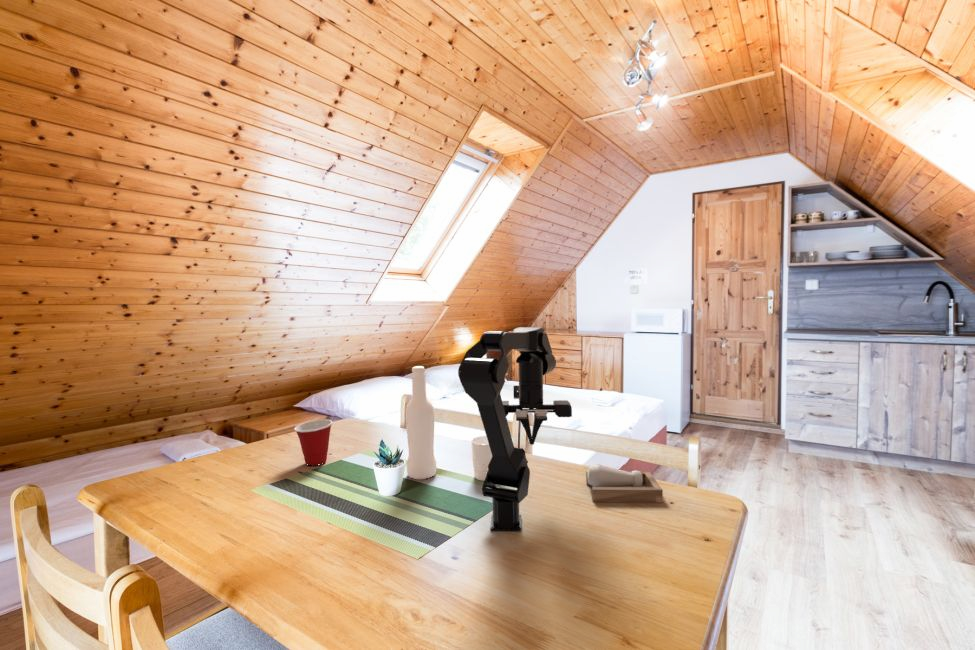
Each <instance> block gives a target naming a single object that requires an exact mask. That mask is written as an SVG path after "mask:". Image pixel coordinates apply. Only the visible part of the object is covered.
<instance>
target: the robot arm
mask: <svg viewBox="0 0 975 650" xmlns="http://www.w3.org/2000/svg"><path fill="white" fill-rule="evenodd" d="M509 350H514V351H517V352H518V353H519V356H518V357H516V359H515V362H516V363H517V364H518V385H513V399H514V400H517V399H518V404H510V403H509V400H502V397H501V393H502V389H503V387H504V385H505V383H506V379H505V378H506V375H507V372H508V371H509V368H510V362H509V359H508V356H507V353H508V351H509ZM488 351H490V352H500V353H501V354H500V357H499V358H490V357H489V358H488V357H486V358H485V357H484V356H485V355H486V354H487V353H488ZM556 366H557V360H556V358H555V356H554V354H553V349H552V346H551V343H550V339H549V337H548V333H547V332H545V329H544V328H543V327H525V326H524V327H523V326H520V327H516V328H514V329H512V331H503V330H501V331H500V330H496V331H495V330H487V331H484V332H483V333H482V334H481V336H480V339H479V340H478V341H477V342H476V343H475V344H474V345H472V346H471V347H469V349H467V351H465V353H464V356H463V358H462V360H461V362H460V364H459V366H458V371H457V373H458V374H457V375H458V378H459V381H460V384H461V386H462V388H463V391H464V392H465V394H467V395H468V396H469V398H471V399H472V400H473V401H475V403H476V404H477V408H478V413H479V415H480V420H481V422H482V426H483V430H484V432H485V436H487V440H488V443H489V447H490V450H491V453H492V458H491V460H490V463H489V465H488V472H487V475H486V478H485V481H483V484H482V488H481V491H482V496H483V497H489V498H492V499H491V500H492V503H491V504H492V505H491V506H492V514H491V519H490V525H489V527H490V529H489V530H490V531H511V532H512V531H513V532H514V531H522V514H520V503H521V502H522V501H523V500H524V499H525V498H526V497H527V496H528V493H529V486H530V475H531V472H530V471H531V470H530V467H529V465H528V463H529V461H528V460H527V457H526V451H525V450H524V448H521V447H515V445H514V442H513V438H512V435H511V430H510V427H509V423H508V422H509V421H508V418H507V416H508V415H509V414H515V417H516V418H515V419H516V421H517V422H520V423H521V425H522V427H523V429H524V430H525V433H526V436H527V440H528V442H529V445H534V444H535V441H536V438H537V435H538V432H539V430H540V428H541V426H542V424H543V422H544V421H545V422H546V421H548V413H554V415H556V416H557V417H558V418H571V417H572V416H573V415H572V414H573V409H572V408H573V407H572V404H571V403H570V402H569V400H565V399H564V400H553V404H552V403H551V404H544V375H547V374H549V373H551V372H553V371H554V370H555V368H556ZM529 413H533V423H532V424H533V425H532V431H531V424H530V423H531V422H530V416H529ZM501 486H503V487H501ZM506 487H507V488H506ZM508 487H509V488H508ZM512 488H514V489H512Z"/></svg>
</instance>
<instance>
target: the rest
mask: <svg viewBox="0 0 975 650" xmlns="http://www.w3.org/2000/svg"><path fill="white" fill-rule="evenodd" d="M630 472H631V473H632V471H630ZM640 472H641V474H642V477H643V483H642V487H632V486H621V487H593V486H591V485H590V484H588V480H587V473H588V470H586V471H585V478H586V479H585V482H586V485H587V486H591V500H592V503H663V498H664V496H663V488H662V487H661V486H660V484H659V483H658V481H657V479H656V478H655V477H654V475H653V474H652V473H651V472H650V471H640Z"/></svg>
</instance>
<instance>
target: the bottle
mask: <svg viewBox="0 0 975 650" xmlns="http://www.w3.org/2000/svg"><path fill="white" fill-rule="evenodd" d="M425 371H426V370H425V367H424V366H423V365H416V366H413V367H412V368H411V372H412V373H411V378H412V379H411V381H412V382H411V384H412V388H411V389H412V397H411V399H410V400H409V402H408V403H407V404H406V407H405V411H404V413H405V414H404V415H405V426H406V435H407V438H406V439H407V446H408V447H407V449H408V458H407V461H406V473H407V475H408V477H409V478H410V479H412V478H413V479H414V480H426V478H428V479H430V477H431V478H432V476H433V477H434V476H435V474H436V473H437V467H438V466H437V459H436V457H435V453H434V445H435V444H434V443H435V442H434V441H435V409H434V405H433V403H432V401H430V399H429V398H428V397H427V387H426V376H427V374H426V372H425Z"/></svg>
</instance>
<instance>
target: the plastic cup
mask: <svg viewBox="0 0 975 650" xmlns="http://www.w3.org/2000/svg"><path fill="white" fill-rule="evenodd" d="M332 425H333V421H332V419H331V420H330V419H316V420H310V421H306V422H302V423H300V424H298V425H296V426H295V427H294V429H293V430H294V431H295V432H296V434H297V438H298V441H299V444H300V446H301V451H302V455H303V459H304V463H305V465H306V464H308V465H318V464H322V463H324V464H326V463H325V462H327V459H328V452H329V445H330V435H331V434H330V433H331V429H332ZM322 465H323V464H322Z"/></svg>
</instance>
